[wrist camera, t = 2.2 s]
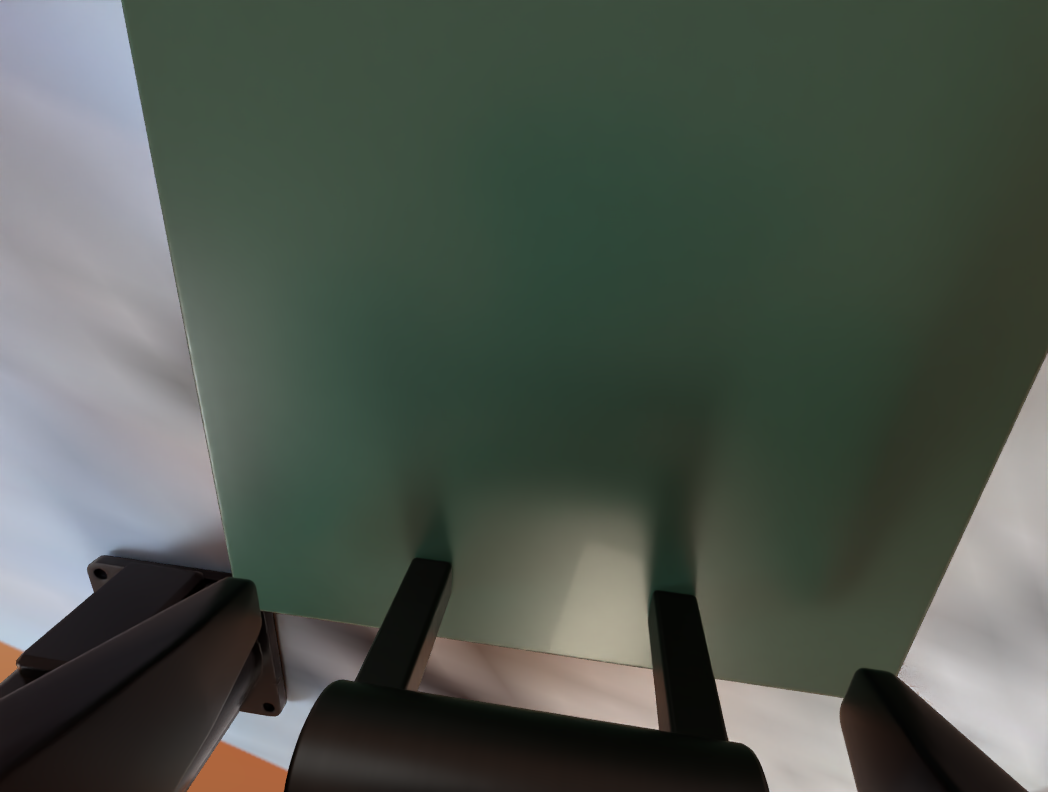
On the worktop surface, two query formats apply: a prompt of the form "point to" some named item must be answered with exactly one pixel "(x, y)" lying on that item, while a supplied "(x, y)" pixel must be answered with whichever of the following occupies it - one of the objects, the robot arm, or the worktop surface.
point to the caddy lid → (598, 343)
